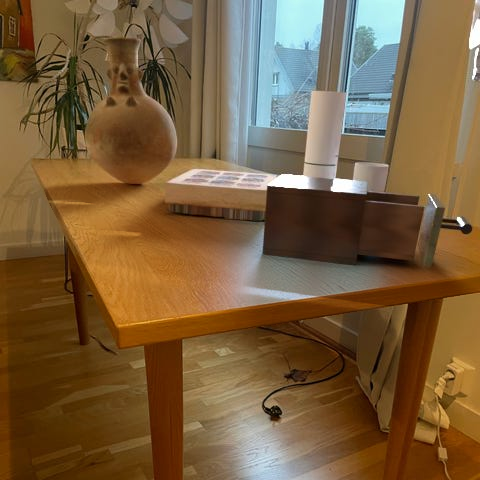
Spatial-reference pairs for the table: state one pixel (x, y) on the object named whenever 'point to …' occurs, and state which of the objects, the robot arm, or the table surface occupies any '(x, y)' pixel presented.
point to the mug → (371, 175)
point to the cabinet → (314, 218)
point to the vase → (129, 122)
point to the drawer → (404, 226)
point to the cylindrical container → (324, 134)
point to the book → (219, 193)
